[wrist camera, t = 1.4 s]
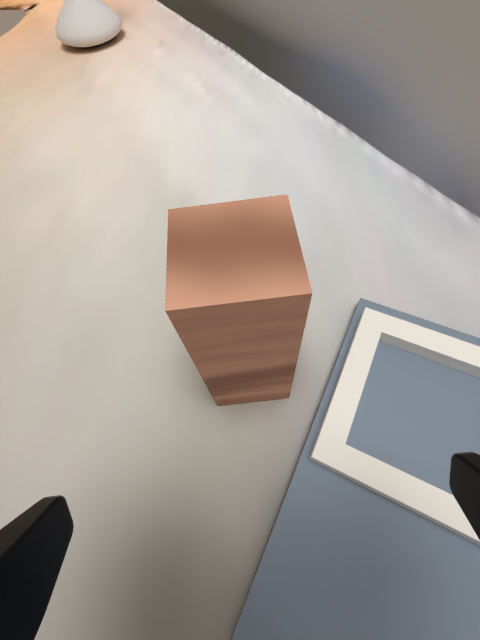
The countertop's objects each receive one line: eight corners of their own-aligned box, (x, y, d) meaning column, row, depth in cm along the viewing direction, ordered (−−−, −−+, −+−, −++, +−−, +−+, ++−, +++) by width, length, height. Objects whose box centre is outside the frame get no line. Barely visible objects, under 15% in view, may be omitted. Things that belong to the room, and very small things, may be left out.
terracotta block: (288, 398, 22) (312, 293, 10) (218, 406, 22) (165, 311, 11) (277, 334, 24) (287, 194, 13) (214, 342, 24) (168, 209, 13)
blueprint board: (683, 966, 11) (771, 1065, 9) (231, 637, 16) (226, 656, 14) (637, 401, 20) (676, 391, 18) (357, 304, 25) (364, 289, 23)
